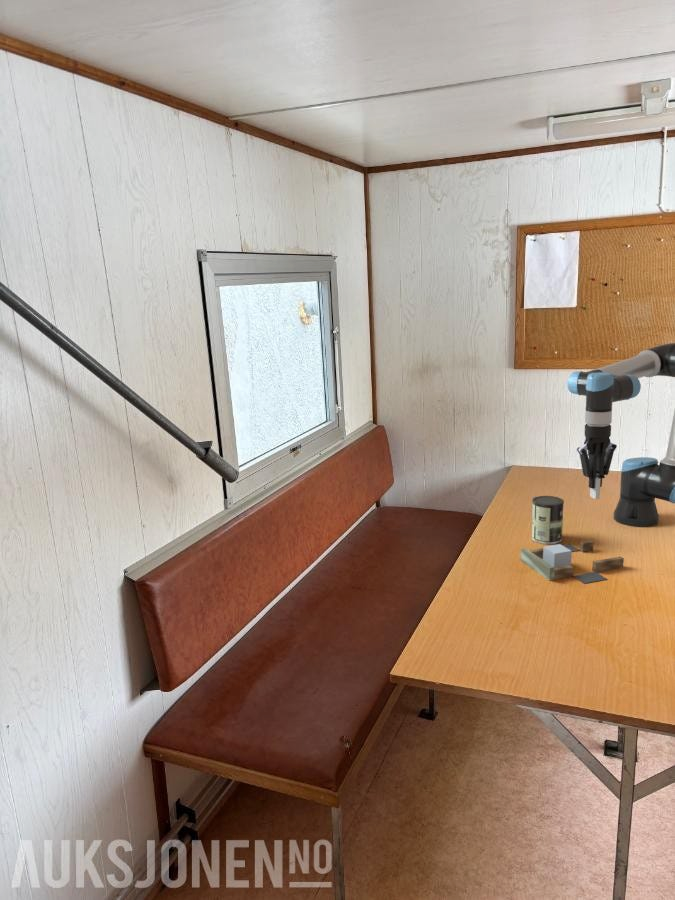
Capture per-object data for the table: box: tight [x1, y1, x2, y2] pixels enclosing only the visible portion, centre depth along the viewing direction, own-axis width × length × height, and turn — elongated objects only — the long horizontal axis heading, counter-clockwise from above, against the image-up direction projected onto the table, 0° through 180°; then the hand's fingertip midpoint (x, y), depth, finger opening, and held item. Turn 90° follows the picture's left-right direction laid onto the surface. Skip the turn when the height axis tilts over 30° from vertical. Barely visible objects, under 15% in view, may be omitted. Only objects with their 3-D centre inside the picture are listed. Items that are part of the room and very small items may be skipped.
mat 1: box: [561, 543, 581, 553], centre depth 221 cm, size 8×6×1 cm
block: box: [542, 543, 573, 568], centre depth 208 cm, size 6×6×6 cm
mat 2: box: [572, 571, 608, 584], centre depth 200 cm, size 8×6×1 cm
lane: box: [520, 540, 625, 581], centre depth 210 cm, size 26×16×4 cm, turn 106°
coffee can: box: [531, 495, 565, 545], centre depth 229 cm, size 10×10×14 cm
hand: (594, 497), depth 209 cm, fingers closed
